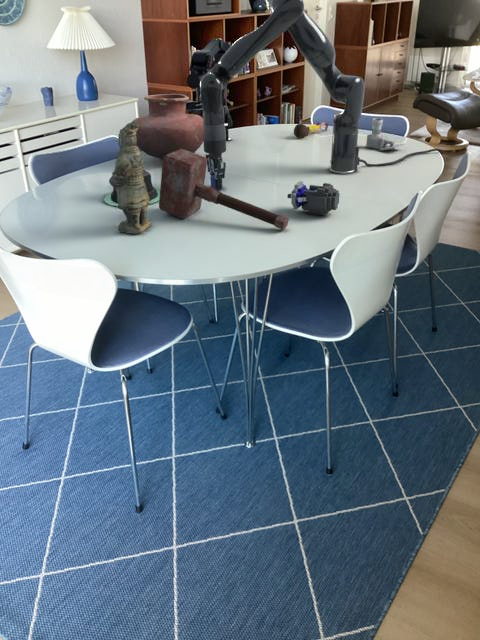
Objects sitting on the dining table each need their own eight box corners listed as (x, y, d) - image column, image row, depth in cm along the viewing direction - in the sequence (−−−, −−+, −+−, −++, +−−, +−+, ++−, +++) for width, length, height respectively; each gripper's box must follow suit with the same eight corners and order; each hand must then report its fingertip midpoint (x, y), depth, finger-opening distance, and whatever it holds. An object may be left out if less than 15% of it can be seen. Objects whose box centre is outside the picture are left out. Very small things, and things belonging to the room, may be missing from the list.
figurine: (335, 120, 268) (311, 122, 249) (333, 136, 271) (309, 140, 252) (311, 118, 275) (286, 120, 256) (309, 134, 278) (284, 137, 259)
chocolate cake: (91, 202, 180) (113, 186, 197) (142, 231, 182) (160, 212, 199) (107, 162, 172) (129, 148, 190) (160, 192, 174) (177, 176, 192)
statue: (131, 220, 168) (117, 116, 152) (158, 224, 164) (147, 118, 149) (109, 233, 159) (93, 124, 144) (138, 237, 156) (124, 126, 140)
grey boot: (376, 116, 238) (408, 121, 230) (373, 144, 244) (404, 150, 236) (365, 119, 233) (397, 124, 224) (362, 148, 239) (393, 154, 230)
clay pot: (215, 151, 239) (212, 89, 226) (198, 171, 213) (194, 102, 201) (147, 150, 244) (141, 89, 231) (123, 168, 218) (114, 101, 206)
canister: (209, 190, 193) (208, 177, 191) (212, 186, 196) (212, 174, 194) (220, 190, 192) (220, 178, 190) (223, 187, 195) (223, 174, 193)
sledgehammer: (299, 190, 156) (179, 147, 167) (285, 200, 148) (161, 154, 160) (286, 244, 166) (174, 200, 177) (272, 256, 158) (156, 209, 170)
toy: (295, 178, 172) (342, 184, 166) (295, 205, 177) (340, 211, 171) (285, 186, 166) (333, 192, 160) (284, 213, 170) (331, 220, 164)
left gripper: (191, 89, 219) (193, 130, 227) (232, 85, 227) (233, 125, 234) (179, 86, 227) (182, 126, 235) (219, 82, 235) (221, 121, 243)
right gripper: (197, 134, 190) (200, 183, 198) (211, 142, 178) (213, 194, 187) (217, 132, 192) (219, 181, 201) (232, 140, 181) (234, 191, 189)
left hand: (205, 124), depth 237 cm, fingers open, 9 cm apart
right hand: (216, 187), depth 194 cm, fingers closed on canister, 4 cm apart
